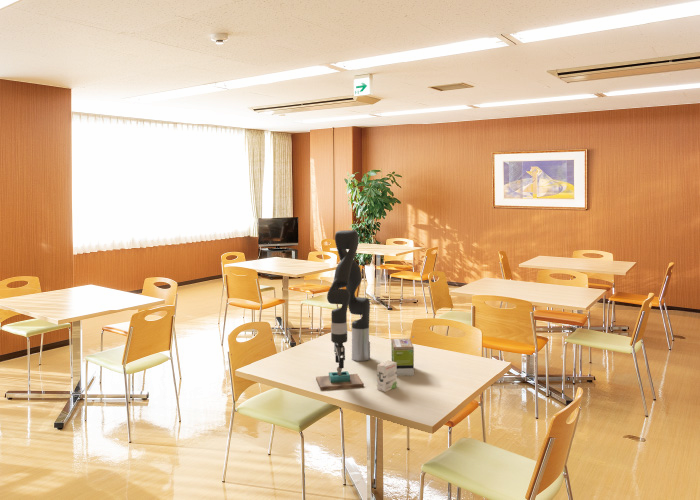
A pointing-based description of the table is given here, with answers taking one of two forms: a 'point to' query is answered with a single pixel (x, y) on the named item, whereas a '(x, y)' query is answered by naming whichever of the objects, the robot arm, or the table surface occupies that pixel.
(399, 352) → the tea box
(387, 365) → the ink box
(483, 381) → the table surface
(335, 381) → the teal open frame
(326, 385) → the plate
